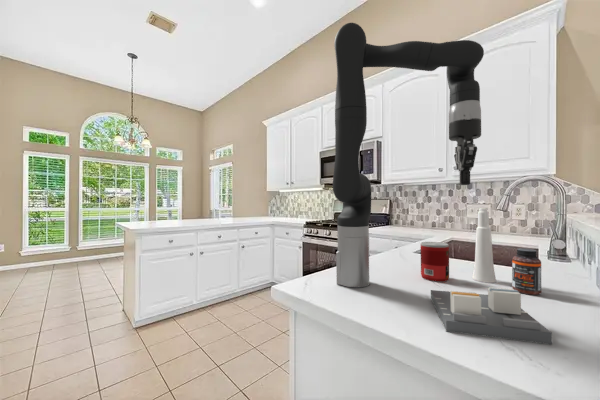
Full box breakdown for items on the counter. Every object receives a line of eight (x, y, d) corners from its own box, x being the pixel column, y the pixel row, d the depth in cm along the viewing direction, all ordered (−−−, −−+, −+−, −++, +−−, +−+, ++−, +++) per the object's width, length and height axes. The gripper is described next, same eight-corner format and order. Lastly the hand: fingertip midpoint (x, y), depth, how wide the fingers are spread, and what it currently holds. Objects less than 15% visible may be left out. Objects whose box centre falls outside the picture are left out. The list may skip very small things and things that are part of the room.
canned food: (453, 282, 80) (452, 245, 80) (424, 281, 81) (423, 245, 81) (444, 275, 87) (444, 241, 87) (418, 274, 89) (418, 241, 89)
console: (446, 331, 50) (446, 314, 50) (430, 297, 67) (430, 285, 67) (552, 344, 45) (552, 325, 45) (506, 304, 62) (506, 291, 62)
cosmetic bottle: (467, 277, 84) (466, 208, 85) (485, 276, 85) (484, 208, 85) (482, 283, 78) (481, 208, 79) (501, 282, 79) (500, 208, 79)
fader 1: (454, 316, 51) (453, 294, 51) (450, 310, 54) (450, 289, 54) (481, 319, 50) (481, 297, 50) (476, 313, 53) (476, 291, 53)
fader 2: (493, 312, 53) (493, 291, 53) (488, 306, 56) (487, 286, 56) (521, 314, 52) (521, 293, 52) (514, 308, 55) (513, 288, 55)
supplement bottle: (511, 292, 71) (510, 249, 71) (513, 286, 75) (512, 246, 75) (541, 297, 67) (540, 252, 67) (541, 291, 71) (541, 249, 71)
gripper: (444, 128, 80) (444, 186, 80) (454, 115, 67) (455, 183, 67) (472, 126, 78) (473, 185, 78) (489, 112, 65) (489, 183, 65)
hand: (464, 184), depth 73 cm, fingers closed
